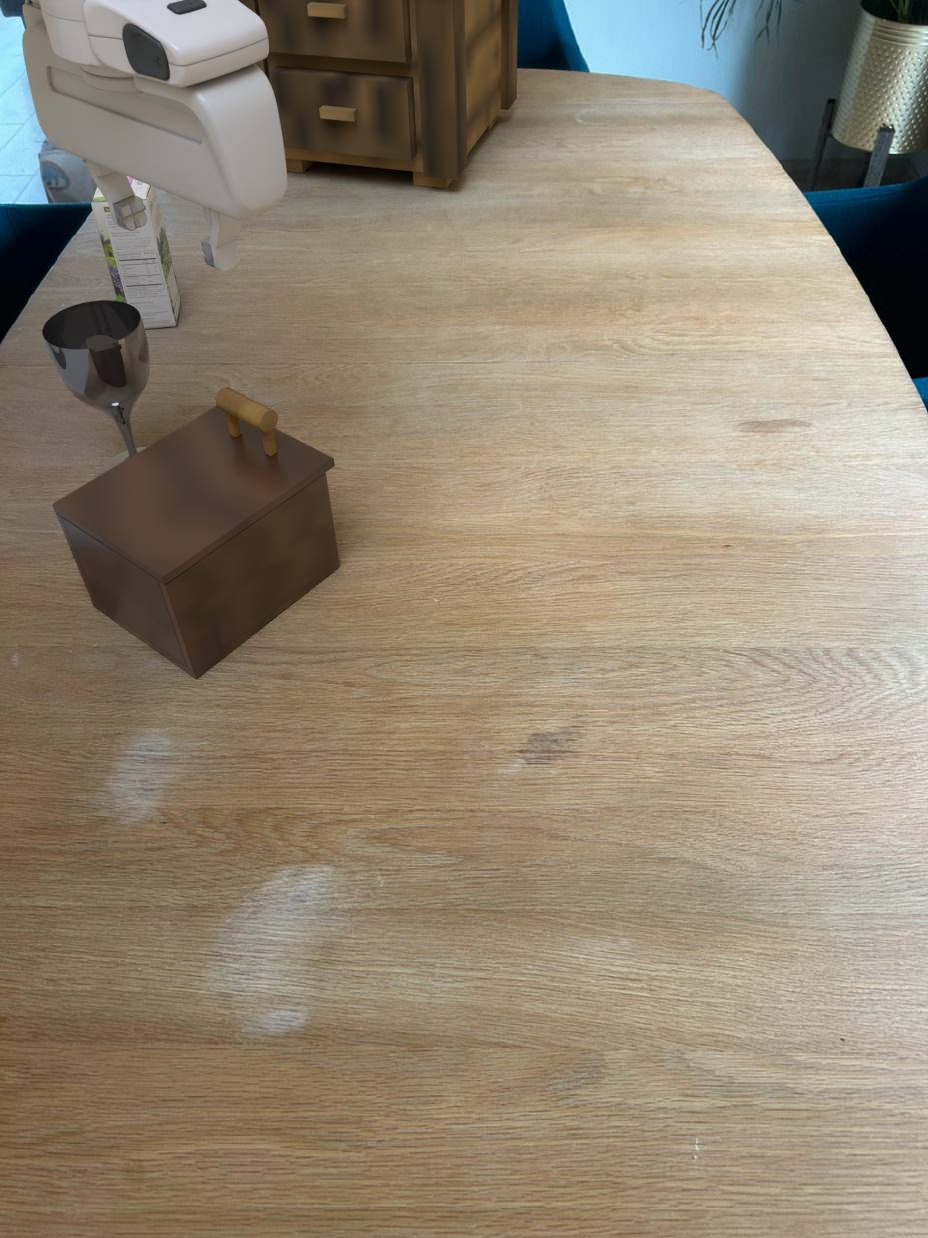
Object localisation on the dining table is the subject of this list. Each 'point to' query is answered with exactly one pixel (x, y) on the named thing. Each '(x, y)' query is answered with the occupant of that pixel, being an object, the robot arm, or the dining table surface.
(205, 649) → the chest
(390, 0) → the wooden drawer cabinet
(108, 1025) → the dining table surface
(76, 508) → the lid
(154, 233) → the syrup box
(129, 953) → the dining table surface
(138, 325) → the wine glass
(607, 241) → the dining table surface
